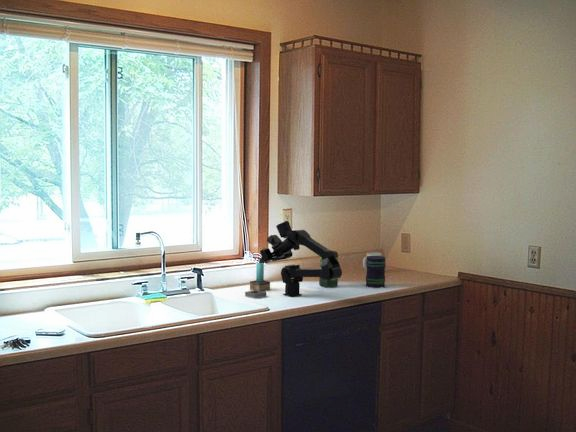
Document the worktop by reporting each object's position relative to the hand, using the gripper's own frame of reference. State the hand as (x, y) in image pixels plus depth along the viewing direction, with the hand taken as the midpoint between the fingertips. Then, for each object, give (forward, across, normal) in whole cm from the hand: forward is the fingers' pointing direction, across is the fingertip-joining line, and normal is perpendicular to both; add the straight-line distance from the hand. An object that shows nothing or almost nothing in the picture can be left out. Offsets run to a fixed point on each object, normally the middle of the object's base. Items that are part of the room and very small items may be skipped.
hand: (265, 261), depth 316 cm
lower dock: (+2, +14, +16) cm, 21 cm away
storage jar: (-19, -47, +30) cm, 59 cm away
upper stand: (+10, +1, +10) cm, 15 cm away
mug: (+2, -82, +17) cm, 84 cm away
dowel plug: (+9, +1, +8) cm, 12 cm away
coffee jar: (-5, -30, +21) cm, 37 cm away
